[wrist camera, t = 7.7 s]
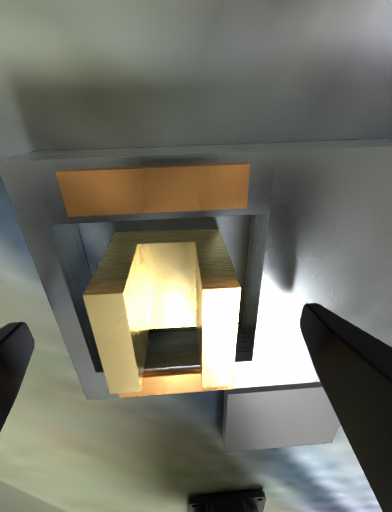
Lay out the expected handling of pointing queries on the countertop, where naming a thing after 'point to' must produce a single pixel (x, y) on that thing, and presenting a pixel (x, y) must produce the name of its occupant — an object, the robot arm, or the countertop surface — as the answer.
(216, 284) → the brass clip
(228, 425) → the tab
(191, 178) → the rail plate
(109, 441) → the countertop surface
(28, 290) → the countertop surface
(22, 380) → the robot arm
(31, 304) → the countertop surface
